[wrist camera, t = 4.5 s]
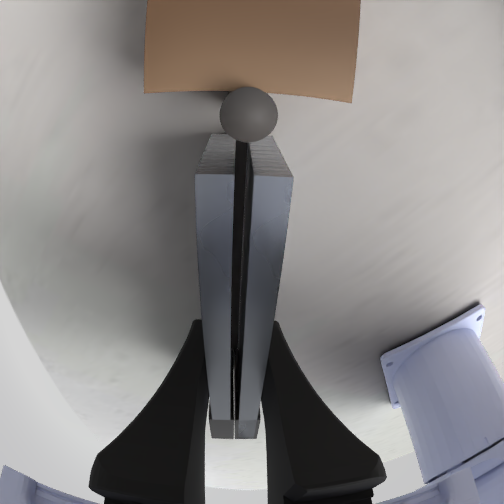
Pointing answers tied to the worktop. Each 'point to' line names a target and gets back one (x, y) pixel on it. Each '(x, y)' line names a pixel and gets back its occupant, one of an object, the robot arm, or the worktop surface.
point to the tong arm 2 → (259, 275)
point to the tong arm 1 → (217, 275)
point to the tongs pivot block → (252, 54)
